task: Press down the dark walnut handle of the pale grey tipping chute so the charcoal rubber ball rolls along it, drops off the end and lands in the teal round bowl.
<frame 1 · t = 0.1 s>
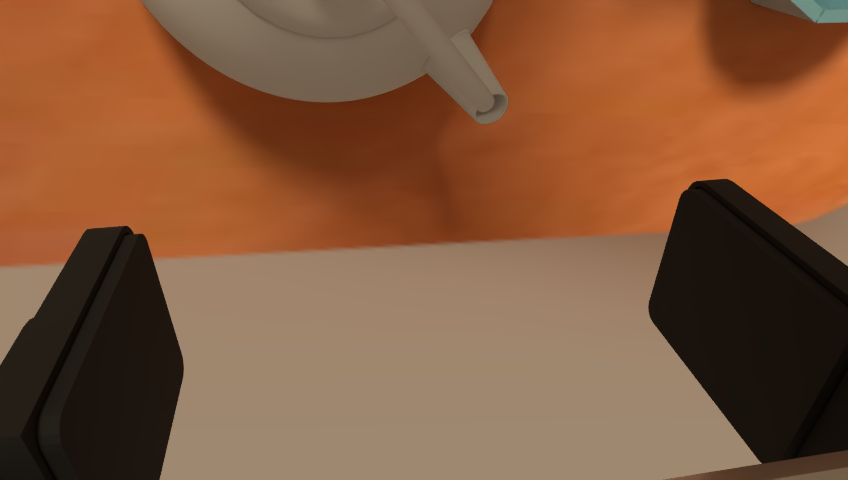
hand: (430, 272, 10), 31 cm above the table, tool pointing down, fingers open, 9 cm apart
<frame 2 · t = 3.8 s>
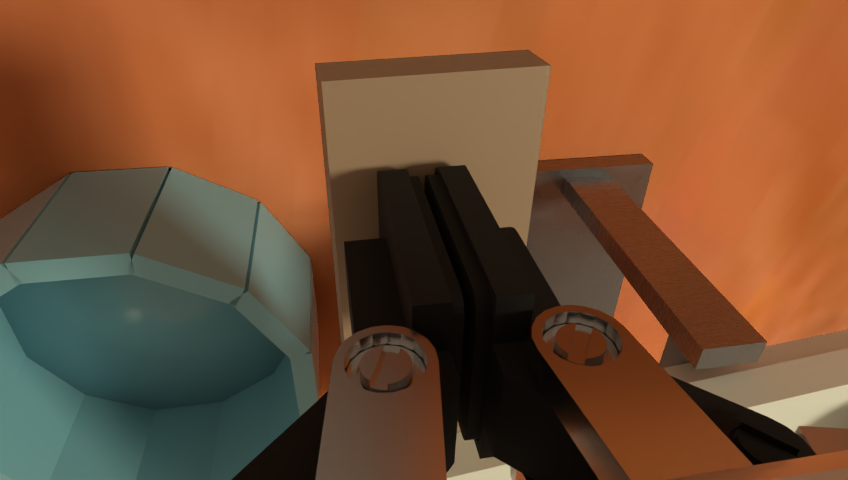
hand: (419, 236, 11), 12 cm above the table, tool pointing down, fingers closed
lever stand: (560, 266, 29), on the table
teal round bowl: (163, 303, 26), on the table
lever: (716, 353, 17), point 11 cm above the table, hinge at -5.2°, touching ball, gripper
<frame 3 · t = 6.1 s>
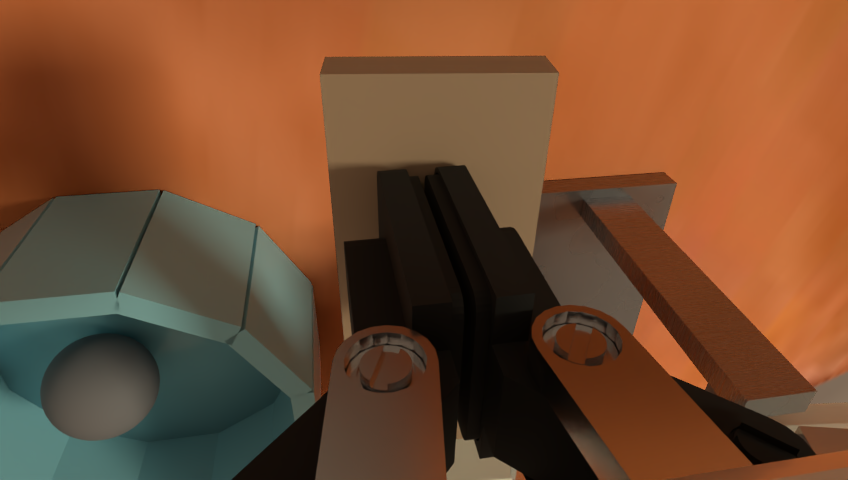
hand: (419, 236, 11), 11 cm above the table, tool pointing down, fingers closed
lever stand: (575, 289, 27), on the table
ball: (102, 385, 22), point 3 cm above the table, tilted 152°, touching teal round bowl
teal round bowl: (155, 332, 24), on the table
lever: (759, 401, 15), point 11 cm above the table, hinge at 6.4°, touching gripper
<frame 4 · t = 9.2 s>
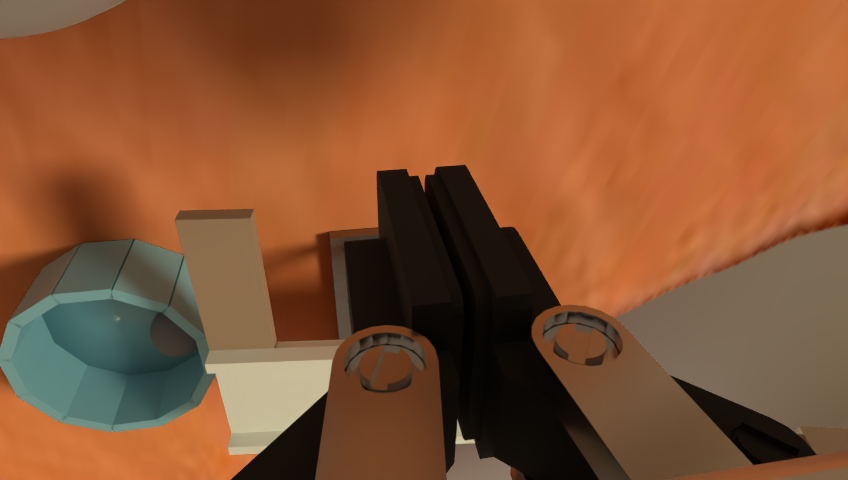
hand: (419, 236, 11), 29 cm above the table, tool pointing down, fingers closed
lever stand: (370, 288, 48), on the table
ball: (178, 330, 44), point 3 cm above the table, touching teal round bowl
teal round bowl: (132, 312, 45), on the table
lever: (384, 334, 37), point 11 cm above the table, hinge at 6.4°
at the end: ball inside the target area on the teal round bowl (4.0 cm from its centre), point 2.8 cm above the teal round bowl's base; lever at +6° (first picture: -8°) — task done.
